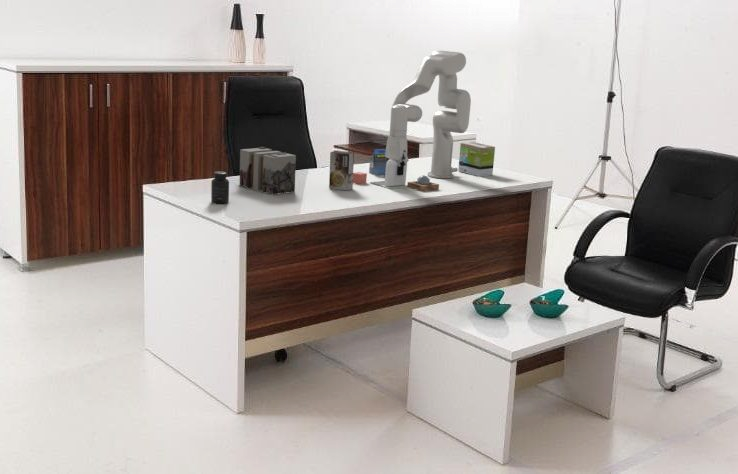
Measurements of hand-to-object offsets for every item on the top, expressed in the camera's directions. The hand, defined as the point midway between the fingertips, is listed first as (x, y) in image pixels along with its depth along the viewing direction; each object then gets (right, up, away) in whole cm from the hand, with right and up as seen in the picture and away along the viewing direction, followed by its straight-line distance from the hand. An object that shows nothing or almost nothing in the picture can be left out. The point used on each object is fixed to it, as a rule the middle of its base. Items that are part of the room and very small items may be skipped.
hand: (395, 173), depth 407 cm
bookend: (-56, -8, -20) cm, 60 cm away
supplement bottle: (-70, -15, -51) cm, 88 cm away
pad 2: (0, -6, +1) cm, 6 cm away
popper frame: (+12, -7, 0) cm, 14 cm away
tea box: (+41, +3, +46) cm, 62 cm away
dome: (+12, -6, 0) cm, 14 cm away
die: (-16, -4, +5) cm, 18 cm away
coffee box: (-24, -7, -10) cm, 27 cm away
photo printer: (0, -5, +1) cm, 6 cm away
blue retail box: (-7, +2, +31) cm, 32 cm away
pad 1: (-5, -4, +7) cm, 9 cm away
